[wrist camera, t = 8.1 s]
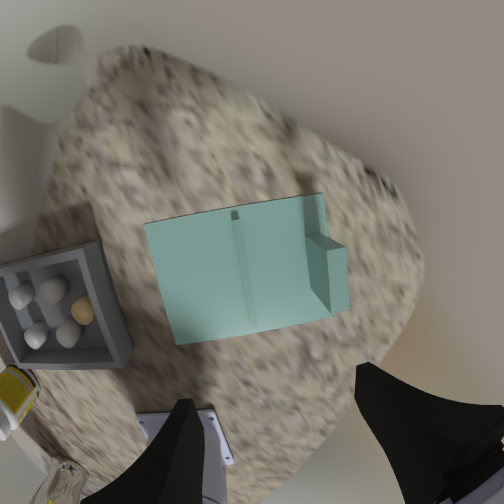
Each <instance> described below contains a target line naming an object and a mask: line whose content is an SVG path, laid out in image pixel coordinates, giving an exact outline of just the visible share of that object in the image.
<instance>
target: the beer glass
mask: <svg viewBox="0 0 504 504" xmlns="http://www.w3.org/2000/svg"><path fill="white" fill-rule="evenodd" d="M88 479H89V474H88V472H87V471H86V470H85V469H84V468H83V467H82V466H80V465H79V464H77V463H76V462H74V461H72V460H71V459H68V458H66V457H64V456H60V455H54V456H53V457H52V460H51V465H50V469H49V472H48V475H47V477H46V478H45V480H44V481H43V483H42V484H41V485H40V487H39V488H38V489H37V491H36V492H35V494H34V495H33V496H32V498H31V500H30V502H29V504H79V502H80V495H81V492H82V489H83V487H84V486H85V484H86V482H87V481H88Z"/></svg>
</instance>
